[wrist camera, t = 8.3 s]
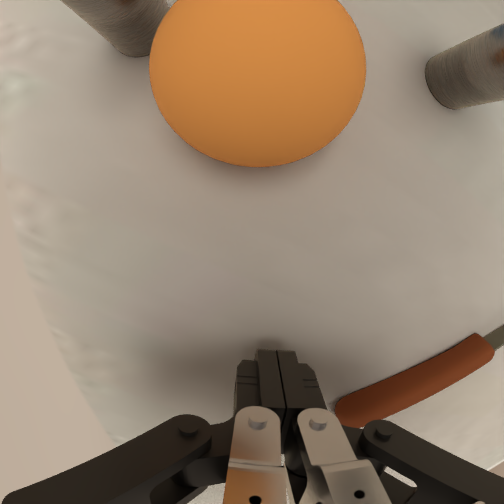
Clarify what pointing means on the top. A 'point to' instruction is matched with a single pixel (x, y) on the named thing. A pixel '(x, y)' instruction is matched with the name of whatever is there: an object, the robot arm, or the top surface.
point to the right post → (469, 71)
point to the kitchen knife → (418, 381)
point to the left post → (123, 21)
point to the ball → (257, 76)
